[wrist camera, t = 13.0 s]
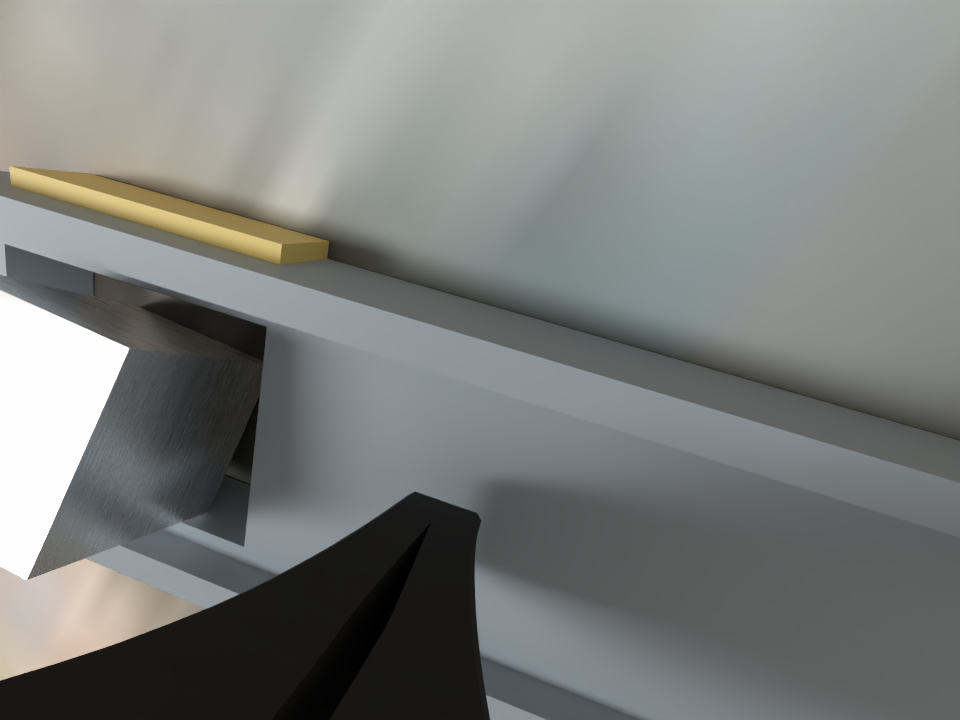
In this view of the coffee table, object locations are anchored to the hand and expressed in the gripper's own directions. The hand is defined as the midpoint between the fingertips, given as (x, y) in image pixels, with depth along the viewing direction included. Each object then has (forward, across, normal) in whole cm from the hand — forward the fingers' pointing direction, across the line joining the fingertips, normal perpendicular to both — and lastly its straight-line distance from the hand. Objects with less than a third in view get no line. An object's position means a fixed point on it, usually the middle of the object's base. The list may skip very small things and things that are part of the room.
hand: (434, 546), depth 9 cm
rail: (+3, +1, 0) cm, 3 cm away
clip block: (+2, +8, +1) cm, 8 cm away
